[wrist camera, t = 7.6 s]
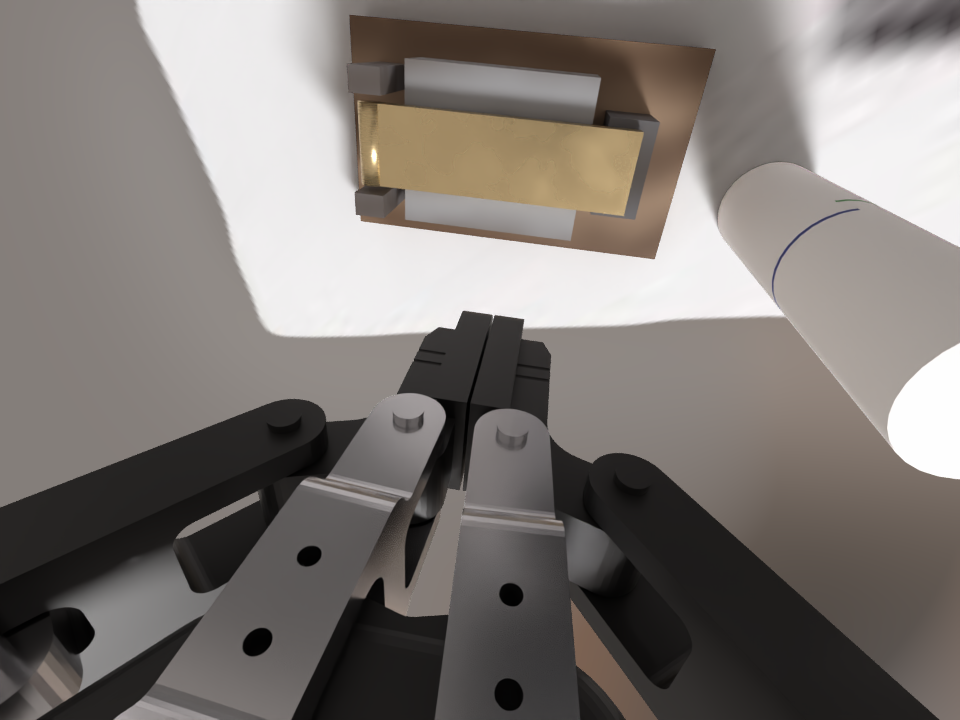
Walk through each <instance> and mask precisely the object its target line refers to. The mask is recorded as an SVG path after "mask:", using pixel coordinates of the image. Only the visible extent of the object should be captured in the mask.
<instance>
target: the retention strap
mask: <svg viewBox="0 0 960 720" xmlns="http://www.w3.org/2000/svg"><path fill="white" fill-rule="evenodd" d="M357 104H358V123H359V142H360V161H361V180H362V184H363V185H366V186H383V187H391V188H399V189H407V190H415V191H423V192H432V193H440V194H448V195H456V196H464V197H472V198H481V199H489V200H497V201H505V202H513V203H522V204H530V205H538V206H546V207H554V208H562V209H571V210H579V211H587V212H595V213H603V214H612V215H620V216H624V213H625V208H626V204H627V200H628V196H629V192H630V188H631V184H632V180H633V176H634V171H635V167H636V163H637V159H638V155H639V151H640V147H641V143H642V139H643V134H644V132H643V131H642V130H637V129H627V128H618V127H609V126H599V125H590V124H581V123H572V122H562V121H553V120H544V119H535V118H525V117H516V116H507V115H498V114H488V113H479V112H470V111H461V110H451V109H442V108H433V107H423V106H414V105H405V104H396V103H386V102H380V101H373V100H358V101H357Z"/></svg>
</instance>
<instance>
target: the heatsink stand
mask: <svg viewBox="0 0 960 720" xmlns="http://www.w3.org/2000/svg"><path fill="white" fill-rule="evenodd" d="M349 16H350V34H351V52H352V63H350V64H347V73H348V90H349V92H350V93H354V106H355V124H356V142H357V160H358V178H359V190H358V191H356V192H355V206H356V215H361V221H364V222H372V223H380V224H387V225H395V226H403V227H410V228H418V229H426V230H434V231H441V232H449V233H457V234H464V235H472V236H480V237H487V238H495V239H503V240H510V241H518V242H526V243H534V244H541V245H549V246H557V247H564V248H572V249H580V250H587V251H595V252H603V253H610V254H618V255H626V256H634V257H641V258H649V259H655V256H656V253H657V249H658V246H659V242H660V239H661V235H662V232H663V229H664V225H665V222H666V218H667V215H668V212H669V208H670V205H671V201H672V198H673V194H674V191H675V188H676V184H677V181H678V177H679V174H680V170H681V167H682V164H683V160H684V157H685V153H686V150H687V147H688V143H689V140H690V136H691V133H692V129H693V126H694V123H695V119H696V116H697V112H698V109H699V106H700V102H701V99H702V95H703V92H704V88H705V85H706V82H707V78H708V75H709V71H710V68H711V64H712V61H713V58H714V54H715V51H716V49H708V48H697V47H687V46H676V45H665V44H655V43H644V42H633V41H623V40H612V39H601V38H591V37H580V36H569V35H558V34H548V33H537V32H526V31H516V30H505V29H494V28H484V27H473V26H462V25H452V24H441V23H430V22H420V21H409V20H398V19H388V18H377V17H366V16H356V15H349ZM358 100H373V101H380V102H386V103H396V104H405V105H414V106H423V107H433V108H442V109H451V110H461V111H470V112H479V113H488V114H498V115H507V116H516V117H525V118H535V119H544V120H553V121H562V122H572V123H581V124H590V125H599V126H609V127H618V128H627V129H637V130H642V131H643V132H644V134H643V139H642V143H641V147H640V151H639V155H638V159H637V163H636V167H635V171H634V176H633V180H632V184H631V188H630V192H629V196H628V200H627V204H626V208H625V213H624V216H620V215H612V214H603V213H595V212H587V211H579V210H571V209H562V208H554V207H546V206H538V205H530V204H522V203H513V202H505V201H497V200H489V199H481V198H472V197H464V196H456V195H448V194H440V193H432V192H423V191H415V190H407V189H399V188H391V187H383V186H366V185H363V184H362V180H361V161H360V142H359V123H358V104H357V101H358Z"/></svg>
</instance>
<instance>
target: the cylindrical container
mask: <svg viewBox="0 0 960 720" xmlns="http://www.w3.org/2000/svg"><path fill="white" fill-rule="evenodd" d="M717 219H718V228H719V231H720V234H721V236H722V237H723V239H724V241H725V242H726V243H727V244H728V246H729V247H730V248H731V249H732V251H733V252H734V253H735V254H736V255H737V257H738V258H739V259H740V260H741V262H742V263H743V264H744V265H745V267H746V268H747V269H748V270H749V272H750V273H751V274H752V275H753V276H754V278H755V279H756V280H757V281H758V283H759V284H760V285H761V286H762V288H763V289H764V290H765V291H766V293H767V294H768V295H769V296H770V298H771V299H772V300H773V301H774V302H775V304H776V305H777V306H778V307H779V309H780V310H781V311H782V312H783V314H784V315H785V316H786V317H787V319H788V320H789V321H790V322H791V323H792V325H793V326H794V327H795V328H796V330H797V331H798V332H799V333H800V335H801V336H802V337H803V338H804V340H805V341H806V342H807V343H808V345H809V346H810V347H811V348H812V349H813V351H814V352H815V353H816V354H817V356H818V357H819V358H820V359H821V361H822V362H823V363H824V364H825V366H826V367H827V368H828V369H829V371H830V372H831V373H832V374H833V375H834V377H835V378H836V379H837V380H838V382H839V383H840V384H841V385H842V387H843V388H844V389H845V390H846V391H847V393H848V394H849V395H850V396H851V398H852V399H853V400H854V401H855V403H856V404H857V405H858V406H859V408H860V409H861V410H862V411H863V412H864V414H865V415H866V416H867V418H868V419H869V420H870V421H871V423H872V424H873V425H874V426H875V427H876V429H877V430H878V431H879V432H880V434H881V435H882V436H883V437H884V438H885V440H886V441H887V442H888V443H889V445H890V446H891V447H892V448H893V450H894V451H895V452H896V453H897V454H898V455H899V456H900V457H901V458H902V459H903V460H904V461H905V462H906V463H908V464H910V465H911V466H913V467H915V468H917V469H918V470H920V471H924V472H926V473H930V474H933V475H936V476H941V477H947V478H954V479H960V247H958V246H956V245H954V244H952V243H950V242H948V241H946V240H944V239H942V238H940V237H938V236H936V235H934V234H932V233H930V232H928V231H926V230H924V229H922V228H920V227H918V226H916V225H914V224H912V223H911V222H909V221H907V220H905V219H903V218H901V217H899V216H897V215H895V214H893V213H891V212H889V211H887V210H885V209H883V208H881V207H879V206H877V205H875V204H873V203H871V202H869V201H867V200H866V199H864V198H862V197H860V196H858V195H856V194H854V193H852V192H850V191H848V190H846V189H844V188H842V187H840V186H838V185H836V184H834V183H832V182H830V181H828V180H827V179H825V178H823V177H821V176H819V175H817V174H815V173H813V172H811V171H809V170H807V169H805V168H803V167H801V166H799V165H796V164H793V163H787V162H774V163H768V164H764V165H761V166H758V167H756V168H754V169H752V170H750V171H748V172H747V173H745V174H744V175H742V176H741V177H740V178H739V179H738V180H737V181H735V182H734V183H733V185H732V186H731V187H730V188H729V189H728V191H727V192H726V194H725V196H724V197H723V199H722V201H721V204H720V207H719V211H718V218H717Z"/></svg>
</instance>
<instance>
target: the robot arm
mask: <svg viewBox="0 0 960 720" xmlns="http://www.w3.org/2000/svg"><path fill="white" fill-rule="evenodd" d="M492 321H493V323H492ZM523 324H524V319H518V318H511V317H504V316H497V315H495V316H494V319H493V315H490V314H483V313H476V312H469V311H463V312H462V314H461V316H460V319H459V321H458V324H457V326H456V329H455V330H454V329H447V328H441V327H439V328H437V329H436V330H434V331H433V332H431V333H430V334H428V335H427V336H425V338H424V340H423V342H422V344H421V346H420V348H419V351H418V352H417V355H416V356H415V358H414V362H413V363H412V365H411V366H410V369H409V371H408V372H407V374H406V377H405V379H404V381H403V383H402V385H401V387H400V389H399V391H398V393H397V395H393V396H390V397H388V398H386V399H384V400H382V401H380V402H379V403H378V404H377V405H376V406H375V407H374V408H373V410H372V411H371V413H370V414H369V416H368V417H367V418H364V419H359V420H350V421H334V422H326V416H325V413H324V411H323V410H322V409H321V408H320V407H319V406H318V405H316V404H314V403H312V402H310V401H306V400H300V399H287V400H280V401H275V402H272V403H270V404H267V405H264V406H261V407H259V408H256V409H254V410H251V411H248V412H246V413H243V414H241V415H238V416H236V417H233V418H230V419H228V420H225V421H223V422H220V423H217V424H215V425H212V426H210V427H207V428H204V429H202V430H199V431H197V432H194V433H192V434H189V435H186V436H184V437H181V438H179V439H176V440H173V441H171V442H169V443H166V444H163V445H161V446H158V447H155V448H153V449H150V450H148V451H145V452H142V453H140V454H137V455H135V456H132V457H130V458H128V459H124V460H122V461H119V462H117V463H114V464H111V465H109V466H106V467H104V468H101V469H99V470H96V471H93V472H91V473H88V474H86V475H83V476H81V477H78V478H75V479H73V480H70V481H68V482H65V483H62V484H60V485H57V486H55V487H52V488H50V489H47V490H44V491H42V492H39V493H37V494H34V495H32V496H29V497H26V498H24V499H21V500H19V501H16V502H13V503H11V504H8V505H6V506H3V507H1V508H0V720H626V719H625V718H624V717H623V715H622V713H621V712H620V711H619V709H618V708H617V706H616V705H615V704H614V703H613V701H612V700H611V699H610V698H609V697H608V695H607V694H606V693H605V692H604V691H603V690H602V689H601V688H600V686H598V684H597V683H596V682H595V681H594V680H593V679H592V678H591V677H589V676H588V675H587V674H586V673H585V672H583V671H582V670H581V669H580V668H579V667H577V666H576V662H575V649H574V637H573V625H572V613H571V601H570V598H571V600H572V601H573V603H574V604H575V605H576V607H577V608H578V609H579V611H580V612H581V614H582V615H583V616H584V618H585V619H586V621H587V622H588V623H589V625H590V626H591V627H592V629H593V630H594V632H595V633H596V634H597V636H598V637H599V638H600V640H601V641H602V643H603V644H604V645H605V647H606V648H607V649H608V651H609V652H610V654H611V655H612V657H613V658H614V659H615V661H616V662H617V663H618V665H619V666H620V668H621V669H622V670H623V672H624V673H625V674H626V676H627V677H628V679H629V680H630V681H631V683H632V684H633V686H634V687H635V688H636V690H637V691H638V693H639V694H640V695H641V697H642V698H643V700H644V701H645V702H646V704H647V705H648V706H649V708H650V709H651V711H652V712H653V713H654V715H655V716H656V717H657V719H658V720H939V719H938V718H937V717H936V716H935V715H933V714H932V713H931V712H930V711H929V710H928V709H927V708H926V707H924V706H923V705H922V704H921V703H920V702H919V701H918V700H917V699H915V698H914V697H913V696H912V695H911V694H910V693H909V692H908V691H907V690H905V689H904V688H903V687H902V686H901V685H900V684H899V683H898V682H897V681H895V680H894V679H893V678H892V677H891V676H890V675H889V674H888V673H887V672H885V671H884V670H883V669H882V668H881V667H880V666H879V665H877V664H876V663H875V662H874V661H873V660H872V659H871V658H870V657H869V656H867V655H866V654H865V653H864V652H863V651H862V650H861V649H860V648H859V647H857V646H856V645H855V644H854V643H853V642H852V641H851V640H850V639H849V638H847V637H846V636H845V635H844V634H843V633H842V632H841V631H840V630H839V629H837V628H836V627H835V626H834V625H833V624H832V623H831V622H830V621H828V620H827V619H826V618H825V617H824V616H823V615H822V614H821V613H819V612H818V611H817V610H816V609H815V608H814V607H813V606H812V605H811V604H809V603H808V602H807V601H806V600H805V599H804V598H803V597H802V596H801V595H799V594H798V593H797V592H796V591H795V590H794V589H793V588H791V587H790V586H789V585H788V584H787V583H786V582H785V581H784V580H783V579H781V578H780V577H779V576H778V575H777V574H776V573H775V572H774V571H773V570H771V569H770V568H769V567H768V566H767V565H766V564H765V563H764V562H763V561H761V560H760V559H759V558H758V557H757V556H756V555H755V554H754V553H752V552H751V551H750V550H749V549H748V548H747V547H746V546H745V545H744V544H743V543H741V542H740V541H739V540H738V539H737V538H736V537H735V536H734V535H732V534H731V533H730V532H729V531H728V530H727V529H726V528H725V527H724V526H722V525H721V524H720V523H719V522H718V521H717V520H716V519H715V518H713V517H712V516H711V515H710V514H709V513H708V512H707V511H706V510H705V509H703V508H702V507H701V506H700V505H699V504H698V503H697V502H696V501H694V500H693V499H692V498H691V497H690V496H689V495H688V494H687V493H686V492H684V491H683V490H682V489H681V488H680V487H679V486H678V485H677V484H676V483H674V482H673V481H672V480H671V479H670V478H669V477H668V476H667V475H665V474H664V473H663V472H662V471H661V470H660V469H659V468H657V467H656V466H655V465H653V464H651V463H650V462H649V461H646V460H644V459H642V458H640V457H637V456H634V455H630V454H624V453H612V454H607V455H603V456H601V457H599V458H598V459H597V460H595V461H594V462H593V464H592V463H589V462H587V461H584V460H582V459H580V458H577V457H575V456H573V455H571V454H569V453H568V452H566V451H564V450H563V449H562V448H561V447H559V446H558V445H557V444H556V443H555V442H554V440H553V439H552V438H551V436H550V434H549V432H548V428H547V416H548V399H549V379H550V364H551V354H550V353H549V351H548V350H547V348H546V347H545V345H544V343H543V342H537V341H529V340H523V339H521V338H522V331H523ZM464 470H465V471H464ZM463 474H464V482H463V491H466V496H465V504H464V509H463V512H462V519H461V526H460V533H459V541H458V549H457V557H456V563H455V571H454V579H453V586H452V594H451V602H450V609H449V615H439V616H425V617H424V616H423V617H408V616H406V615H407V610H408V607H409V603H410V600H411V597H412V593H413V591H414V588H415V586H416V583H417V580H418V578H419V575H420V572H421V569H422V566H423V564H424V561H425V559H426V556H427V553H428V551H429V548H430V545H431V542H432V540H433V537H434V534H435V532H436V529H437V526H438V523H439V520H440V514H441V508H442V506H443V504H444V500H445V497H446V493H447V489H448V488H450V489H456V490H460V486H461V482H462V478H463ZM256 491H258V495H259V499H260V500H259V501H257V502H255V503H253V504H251V505H249V506H247V507H245V508H243V509H241V510H239V511H237V512H236V513H233V514H231V515H230V516H228V517H225V518H223V519H222V520H220V521H218V522H216V523H214V524H212V525H210V526H208V527H206V528H204V529H202V530H200V531H198V532H196V533H194V534H192V535H190V536H187V537H184V538H180V539H175V538H176V537H177V535H178V534H179V533H180V532H181V531H182V530H183V529H184V528H185V527H187V526H188V525H190V524H191V523H193V522H195V521H197V520H199V519H201V518H203V517H205V516H207V515H209V514H211V513H214V512H216V511H217V510H220V509H222V508H223V507H226V506H228V505H230V504H232V503H234V502H236V501H238V500H240V499H242V498H244V497H246V496H248V495H250V494H252V493H254V492H256Z"/></svg>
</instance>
